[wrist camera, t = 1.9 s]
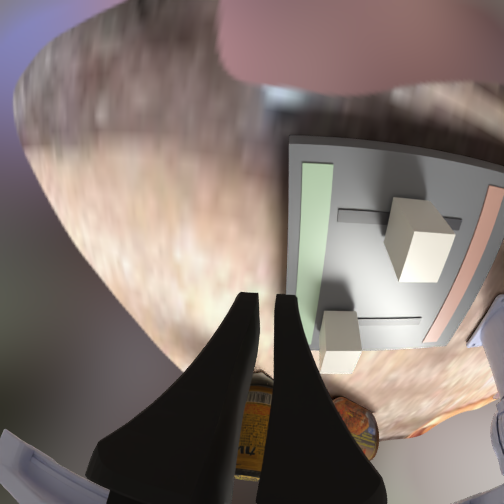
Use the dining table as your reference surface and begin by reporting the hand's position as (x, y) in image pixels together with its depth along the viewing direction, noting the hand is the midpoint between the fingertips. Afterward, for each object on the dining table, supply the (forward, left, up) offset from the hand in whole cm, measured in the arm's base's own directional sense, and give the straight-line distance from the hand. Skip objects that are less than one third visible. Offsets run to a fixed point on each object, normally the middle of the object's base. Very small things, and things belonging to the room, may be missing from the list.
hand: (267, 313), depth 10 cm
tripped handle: (-8, 0, -7) cm, 10 cm away
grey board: (-9, +4, -9) cm, 13 cm away
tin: (-11, +31, -10) cm, 34 cm away
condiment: (+2, +26, -10) cm, 28 cm away
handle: (-4, +9, -7) cm, 12 cm away
